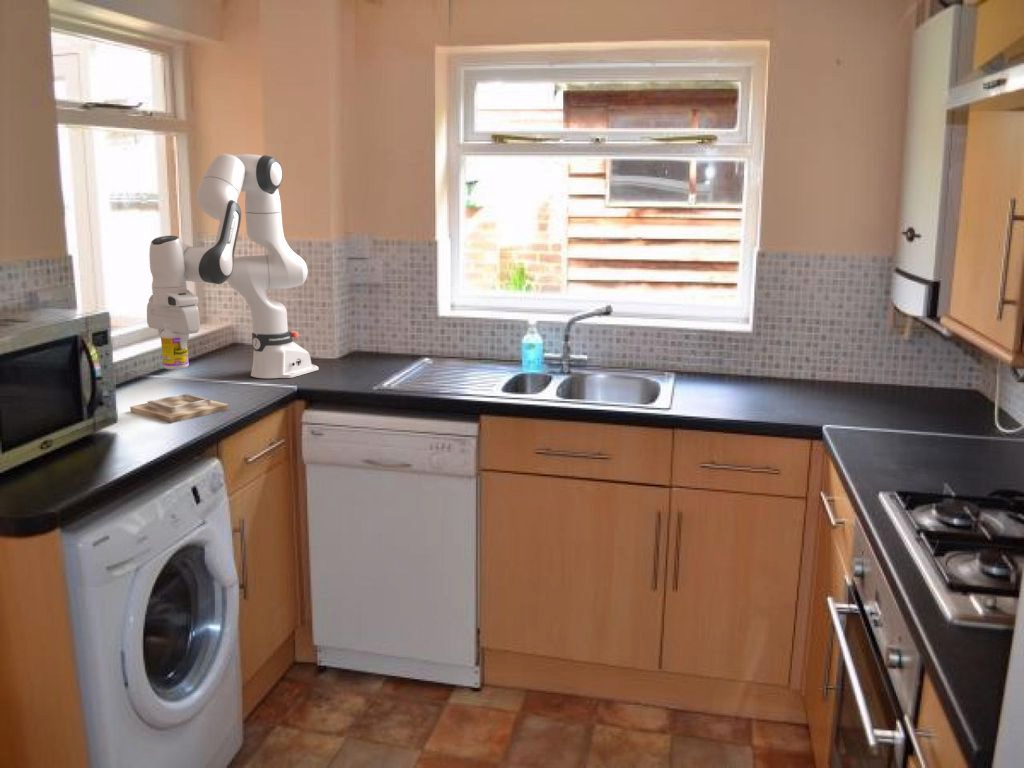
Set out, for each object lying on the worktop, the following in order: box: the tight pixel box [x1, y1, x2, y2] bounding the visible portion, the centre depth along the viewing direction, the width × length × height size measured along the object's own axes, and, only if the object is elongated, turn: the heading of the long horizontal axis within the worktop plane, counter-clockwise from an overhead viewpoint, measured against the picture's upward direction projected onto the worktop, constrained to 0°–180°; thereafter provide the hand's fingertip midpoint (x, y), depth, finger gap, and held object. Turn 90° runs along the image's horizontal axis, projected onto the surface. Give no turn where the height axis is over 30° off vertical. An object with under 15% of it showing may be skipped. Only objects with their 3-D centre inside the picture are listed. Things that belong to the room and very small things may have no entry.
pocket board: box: [129, 392, 230, 424], centre depth 257 cm, size 18×20×3 cm
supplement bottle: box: [160, 322, 190, 370], centre depth 254 cm, size 7×7×13 cm
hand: (174, 346), depth 254 cm, fingers closed on supplement bottle, 7 cm apart
